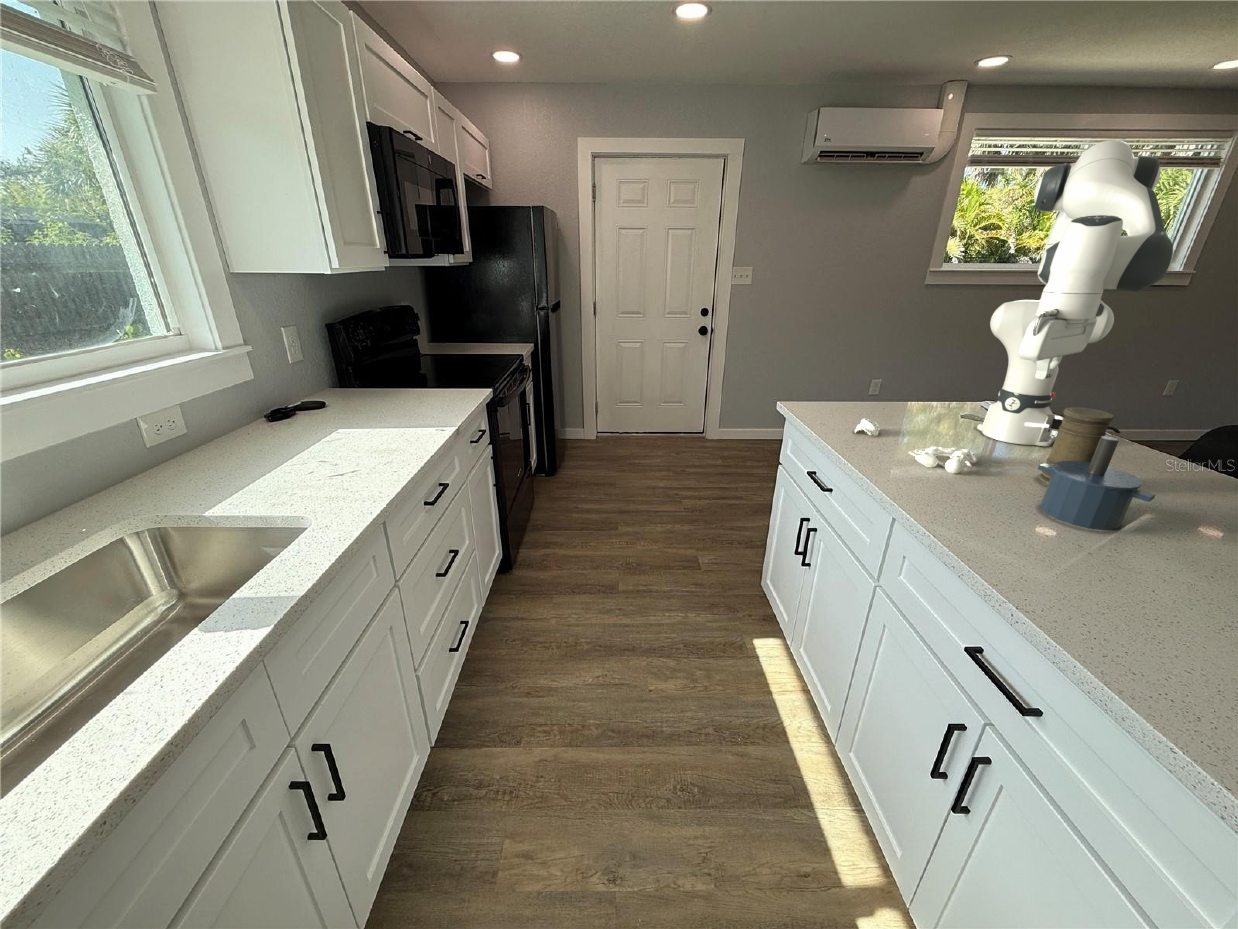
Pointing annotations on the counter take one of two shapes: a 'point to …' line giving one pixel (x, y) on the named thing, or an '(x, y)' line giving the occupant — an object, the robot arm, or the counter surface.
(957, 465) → the tangled rod sculpture
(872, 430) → the white arched lump
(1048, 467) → the pot
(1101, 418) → the container
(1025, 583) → the counter surface
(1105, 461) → the lid
